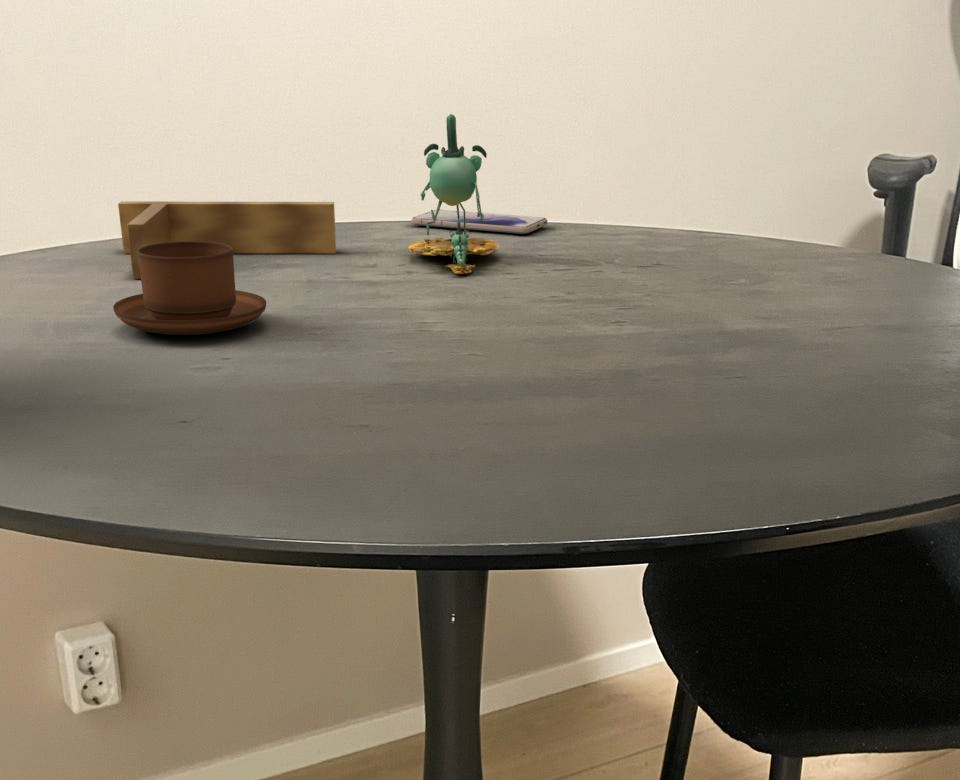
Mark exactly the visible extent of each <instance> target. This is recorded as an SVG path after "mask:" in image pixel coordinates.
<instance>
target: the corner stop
mask: <svg viewBox="0 0 960 780" xmlns="http://www.w3.org/2000/svg"><path fill="white" fill-rule="evenodd" d="M117 207H118V214H119V215H118V216H119V223H120V232H121V233H120V234H121V240H122V250H123V254H127V255H128V254H130V263H131V273H132V279H133V280H141V275H140V267H139V260H138V249H139V248H141V247H144V246H147V245H151V244H157V243H165V242H178V241H206V242H217V243H223V244H227V245H230V246H231V247H232V248H233V255H234V254H235V255H236V254H237V255H238V254H239V255H240V254H241V255H242V254H248V255H249V254H251V255H254V254H259V255H260V254H263V255H264V254H265V255H266V254H272V255H273V254H276V255H278V254H279V255H282V254H290V255H293V254H298V255H299V254H303V255H304V254H305V255H306V254H308V255H309V254H311V255H312V254H313V255H314V254H319V255H321V254H324V255H326V254H330V255H331V254H332V255H333V254H335V255H336V253H337V233H336V211H335V210H336V209H335V207H336V206H335V201H171V200H170V201H169V200H168V201H161V200H160V201H159V200H158V201H157V200H154V201H153V200H152V201H148V200H147V201H143V200H141V201H139V200H135V201H134V200H133V201H131V200H130V201H129V200H127V201H126V200H125V201H124V200H122V201H120V202H118V203H117Z"/></svg>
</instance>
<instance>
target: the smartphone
mask: <svg viewBox="0 0 960 780" xmlns="http://www.w3.org/2000/svg"><path fill="white" fill-rule="evenodd" d="M432 210H433V212H434V215H435V214H436V210H437V209H432ZM477 212H478V211H476V212H475V211H465V228H466V230H469V231H484V232H497V233H507V234H520V235H523V234H524V235H525V234H529V233H531V232H534V231H536V230H538V229H540V228H543V227H545V226H547V225H548V219H547V218H546V217H539V216H526V215H515V214H501V213H490V212H482V214H483V215H484V218H483V221H480V219H481V216H480V217H477ZM459 220H460V227H461V230H464V211H463V210H459ZM432 221H434V220H433V219H432V214H431V210H430V211H427V212H425V213H421V214H419V215H416V216H413V217H411V224H412V225H415V226H424V227H427V223H429V222H432ZM457 221H458V217H457V210H449V209H440V210H439V212H438V215H437V218H436V221H435V223H433V224H430V225H429V227H435V228H436V227H437V228H446V229H457Z"/></svg>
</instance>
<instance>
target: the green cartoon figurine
mask: <svg viewBox="0 0 960 780" xmlns="http://www.w3.org/2000/svg"><path fill="white" fill-rule="evenodd" d="M445 121H446V141H447V142H446V143H447V149H446V148H445V146H442V147H441V148H440V149H441V150H440V149H439V147H440V146H439V145H438V144H437V143H430V144H428V145H427V147H425V149H424V151H423V156H424V157H425V156H427V157H426V159H425V165H426V167H427V168H428V169H430V171H429V180H428V182H427V184H426V185H425V186H424V188H423V190H422V192H421V193H420V198H421V201H422V202H423V201H424V200H425V198H426V191H428V190H429V189H431V192H432V194H433V196H435V198H436V199H437V200H438V202H437V207H436V209H435V210H436V214H435V215H434V212H433V210H434V209H431V210H430V211H431V214H432V219H433V220H434V221H432V222H429V223H427V226H426V236H427V237H430V226H429V225H430V224H433V223H435V221H436V218H437V215H438V212H439V210H441V206H442V204H443V203H444V204H446V205H448V206H450V207H455V206H456V211H457V217H458V221H457V228H456V230H454V229H451V230H450V231H449V237H450V238H443V237H435V238H432V239H430V238H425V239H423V241H418V240H417V241H413V242H411V244H410V245H408V248H407V249H408V250H409V251H410V253H412V254H414V255H416V256H421V255H422V256H432V257H437V256H444V257H447V256H450V258H452V257H453V259H452V263H449V264H447V265H446V264H445V265H444V267H445V268H448V269H451V272H452V273H454V274H456V275H464V274H471V273H472V272H473V270H472V269H473V268H475V267H476V264H473V265H471V264H468V263H466V261H468V258H467V256H468V255H473V256H486V255H490V254H494V253H495V252H496V251H497V250H498V249H499V248H500V247H501V244H499V243H497V242H496V240H494V239H485V238H483V237H470V235H471V234H472V232H471V230H470V229H466V228H465V212H466V209H465V207H464V206H463V204H462V203H463V202H467V201H468V200H470V199H471V198H472V196H473V194H474V193H475V199H476V210H477V211H476V212H477V217H480V216H481V219H480V221H483V218H484V215H483V214H482V213H483V212H482V205H481V200H480V197H481V196H480V193H479V188H478V176H477V172H478V171H479V170H480V169H481V167H482V162H483V161H482V157H481V156H479V155H477V154H475V155H471V156H470V157H467V156H466V155H465V147H464V145H461V146H460V147H458V139H457V138H458V137H457V118H456V116H455V115H454V114H452V113H450V114H449V115H447V116H446V120H445ZM433 150H435V151H433ZM438 150H440V153H441V154H440V153H438V152H436V151H438ZM431 151H432V152H431ZM471 151H472V152H479V153H480V154H481V155H482V156H483V157H484V158H485V159H487V157H488V156H487V154H488V153H487V151H486V150H485V149H484V148H483V146H481V145H479V144H475V145H473V146H471ZM460 208H461V210H462V211H464V229H463V230H462V229H461V227H460V220H459V211H460ZM455 259H456V260H455ZM456 261H457V263H456Z"/></svg>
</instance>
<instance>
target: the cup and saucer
mask: <svg viewBox="0 0 960 780" xmlns="http://www.w3.org/2000/svg"><path fill="white" fill-rule="evenodd" d="M138 260H139V267H140V275H141V279H140V283H141V290H142V293H139V294H135V295H130V296H126V297H124V298H122V299H120V300H118V301H116V302H115V303H114V304H113V305H112V309H113V312H114V315H115V316H116V318H118V319H119V320H120V321H122V323H124V324H125V325H127V326H129V327H131V328H133V329H136V330H140V331H143V332H147V333H148V332H149V333H153V334H161V335H172V336H195V335H196V336H198V335H207V334H215V333H216V334H217V333H222V332H227V331H232V330H235V329H238V328H242V327H244V326H247V325H249V324H251V323H253V322H254V321H256V320H257V319H259V318H260V317H261V315H262V314H263V313H264V312H265V311H266V307H267V300H266V298H264V297H263V296H261V295H258V294H256V293H252V292H248V291H243V290H237V289H236V279H235V277H236V276H235V261H234V254H233V248H232V247H231V246H230V245H227V244H223V243H217V242H206V241H178V242H165V243H157V244H151V245H147V246H144V247H141V248H139V249H138Z"/></svg>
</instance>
